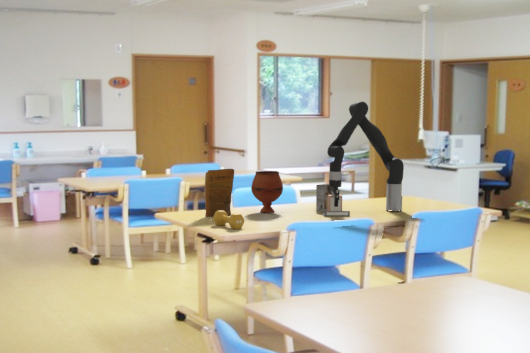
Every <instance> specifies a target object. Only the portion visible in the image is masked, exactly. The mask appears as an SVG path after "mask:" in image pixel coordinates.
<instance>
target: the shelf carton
mask: <svg viewBox="0 0 530 353" xmlns="http://www.w3.org/2000/svg"><path fill="white" fill-rule="evenodd" d="M336 198H337V197H336ZM327 211H343V195H342V194H339V200H338V207H335V206H334V197H333V195H328V202H327Z"/></svg>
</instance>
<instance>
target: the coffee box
mask: <svg viewBox="0 0 530 353" xmlns="http://www.w3.org/2000/svg"><path fill="white" fill-rule="evenodd" d="M315 187H316V193H315V194H316V195H315V196H316V198H315V202H316V205H315V209H316V210H315V211H321V212H325V211H327V202H328V195H331V187H329V183H323V184H322V183H321V184H316V186H315Z"/></svg>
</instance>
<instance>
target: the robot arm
mask: <svg viewBox="0 0 530 353" xmlns="http://www.w3.org/2000/svg"><path fill="white" fill-rule="evenodd" d="M348 111H349V114H350V116H351V117H350V119H348V121H347V122H346V124H345V125H344V126H343V127H342V128H341V130H340V132H339V133H338V135H337V137H336V138H335V139H334V140H333V141H332V143H330V145H329V146H328V148H327V155H328V157H330V158H334V159H333V161H331V162H329V174H328V184H329V187H331V195H333V197H334V206H335V207H338V200H339V195H340V189H339V188H341V187H342V181H343V180H342V176H343V175H342V164H343V160H344V157H345V150H344V147H345V146H346V145H347V144H348V142H349V141H350V139H351V137H352V136H353V134H354V132H355V130H356V129H357V127H358V126H359V127H360V129H361V130H362V132H363V133H364V135H365V136H366V138H367V140H368V142H369V143H370V144H371V146H372V147H373V149H374V150H375V151H376V153H377V154H378V155H379V157H380V159H381V161H382V163H383V164H384V167H385V169H386V170H387V171H388V178H386V198H385V211H386V210H392V211H399V210H402V211H403V196H402V186H403V185H402V182H403V179H404V168H405V167H404V162H403V160H402V159H400V158H398V157H396V156H395V155H394V154H393V153H392V152H391V150H390V148H389V145H388V141H387V139H386V137H385V136H384V134H383V132H382V131H381V129H380V128H379V127H377V125H375V124H374V123H373V122H371V121H370V120H369V119H368V118H367V116H366V115H367V114H368V112H369V104H367V102H365V101H357V102H354V103H352V104H349V108H348ZM336 197H337V198H336ZM399 212H400V211H399Z"/></svg>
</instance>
